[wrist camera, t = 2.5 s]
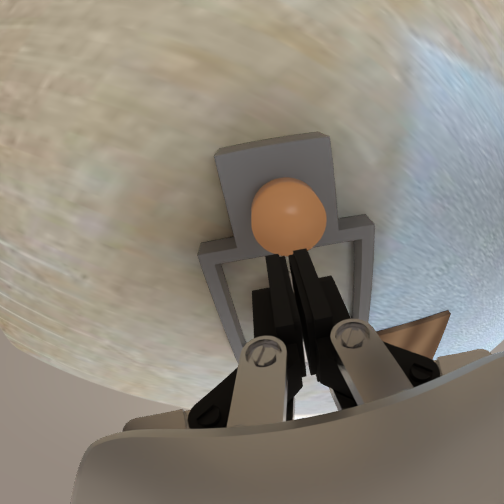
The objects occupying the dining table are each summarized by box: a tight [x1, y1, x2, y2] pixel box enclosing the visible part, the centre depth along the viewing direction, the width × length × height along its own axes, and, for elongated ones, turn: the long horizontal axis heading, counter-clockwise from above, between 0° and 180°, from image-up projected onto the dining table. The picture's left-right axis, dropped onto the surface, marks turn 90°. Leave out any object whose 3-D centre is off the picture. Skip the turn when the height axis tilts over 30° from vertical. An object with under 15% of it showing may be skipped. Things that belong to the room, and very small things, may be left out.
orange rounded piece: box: [251, 177, 327, 256], centre depth 18 cm, size 4×4×4 cm
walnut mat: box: [376, 310, 451, 359], centre depth 34 cm, size 14×14×1 cm
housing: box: [197, 132, 375, 364], centre depth 25 cm, size 15×23×4 cm, turn 11°
